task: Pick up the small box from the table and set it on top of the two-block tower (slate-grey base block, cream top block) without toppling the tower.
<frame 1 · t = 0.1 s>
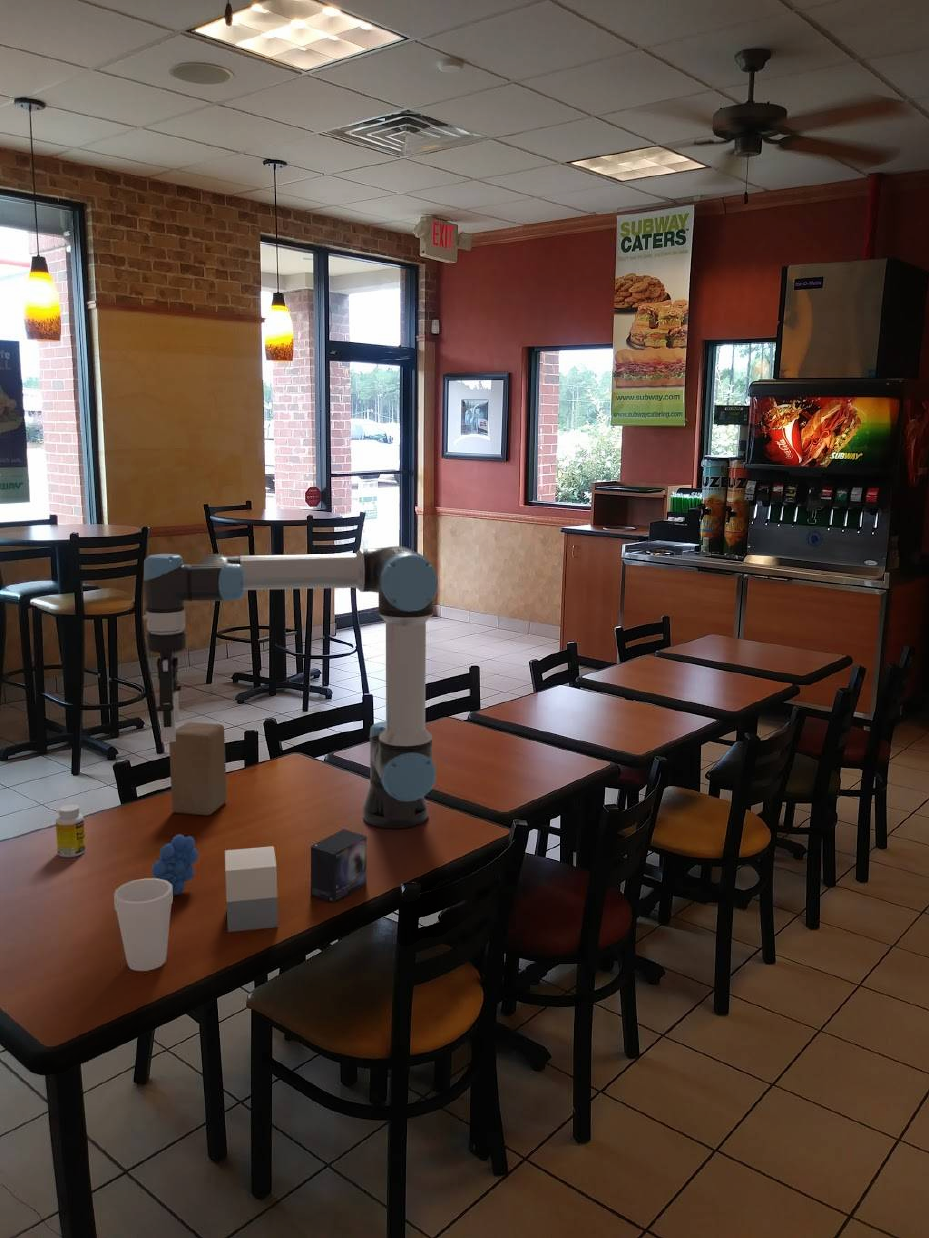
hand: (170, 731, 204), 28 cm above the table, tool pointing down, fingers open, 13 cm apart
foam cup: (147, 962, 169), on the table
supplement bottle: (71, 853, 212), on the table
small box: (339, 890, 196), on the table
grapes: (173, 894, 194), on the table
tower base: (252, 918, 185), on the table
block: (200, 808, 238), on the table
tower top: (251, 888, 184), point 6 cm above the table
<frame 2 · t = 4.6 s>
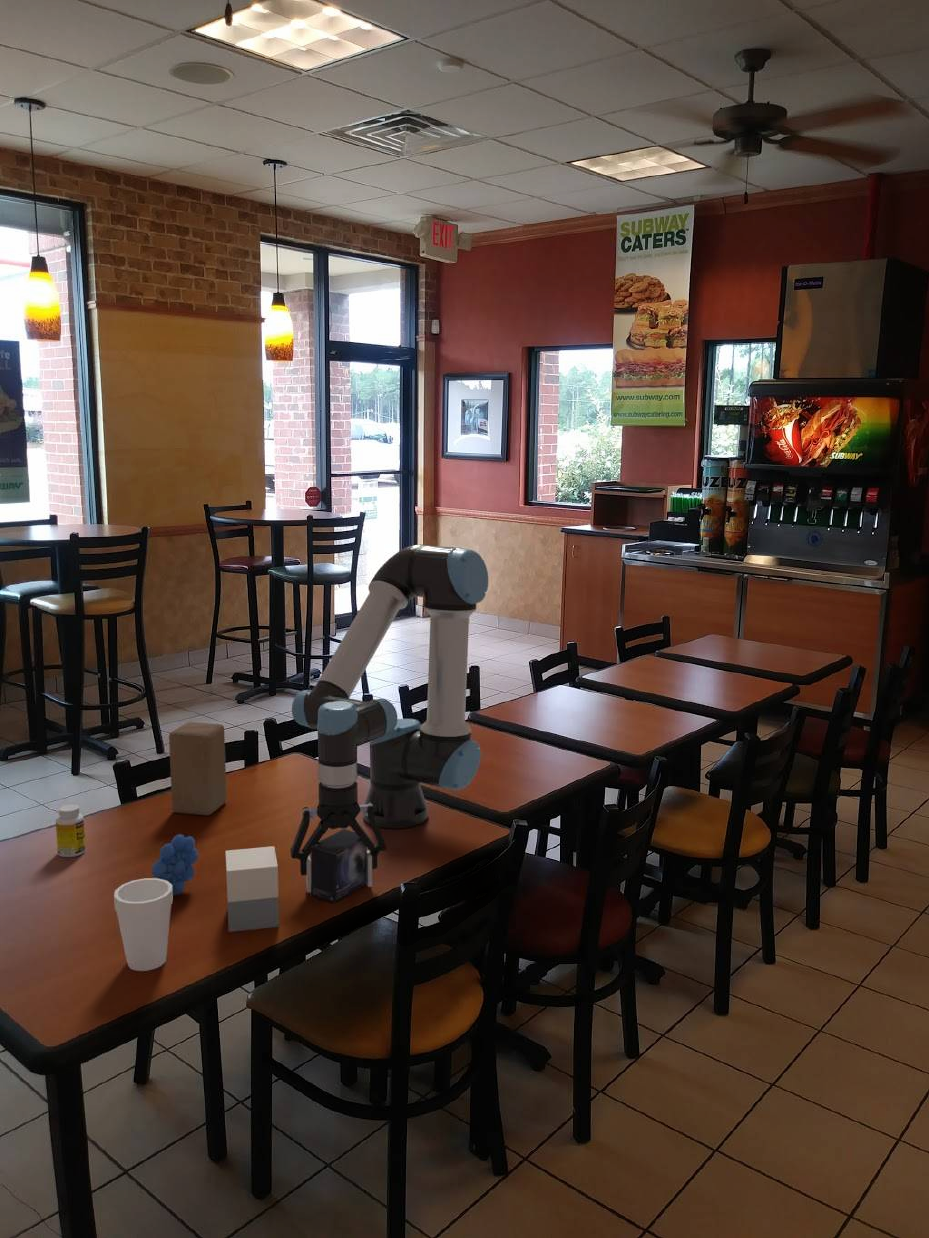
hand: (339, 886, 196), 1 cm above the table, tool pointing down, fingers closed on small box, 11 cm apart
small box: (339, 890, 196), on the table, touching gripper
tower base: (253, 918, 185), on the table, touching tower top
tower top: (252, 888, 184), point 6 cm above the table, touching tower base
everything else where it was.
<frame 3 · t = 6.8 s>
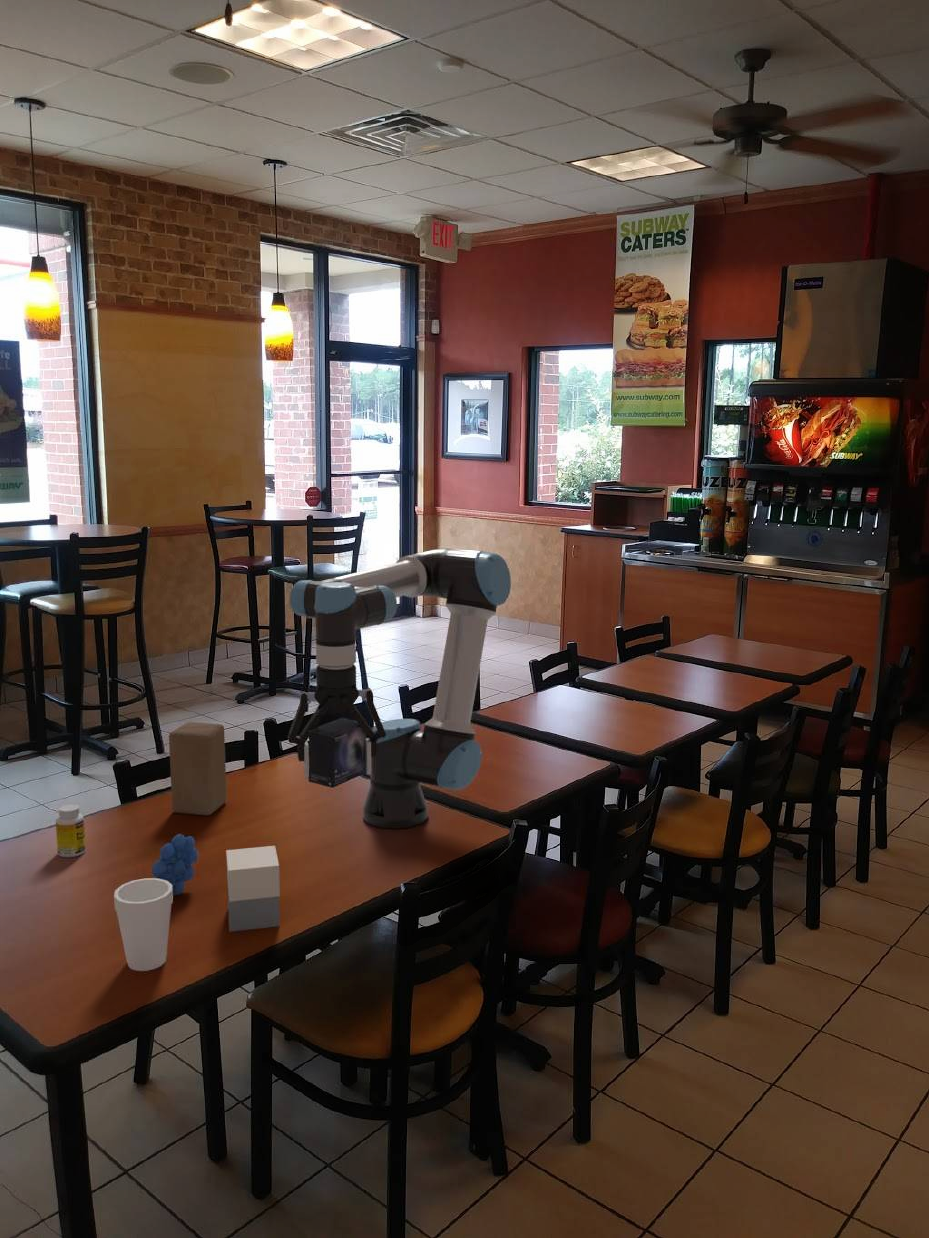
hand: (337, 774, 192), 24 cm above the table, tool pointing down, fingers closed on small box, 11 cm apart
small box: (338, 778, 192), point 23 cm above the table, touching gripper
everything else where it was.
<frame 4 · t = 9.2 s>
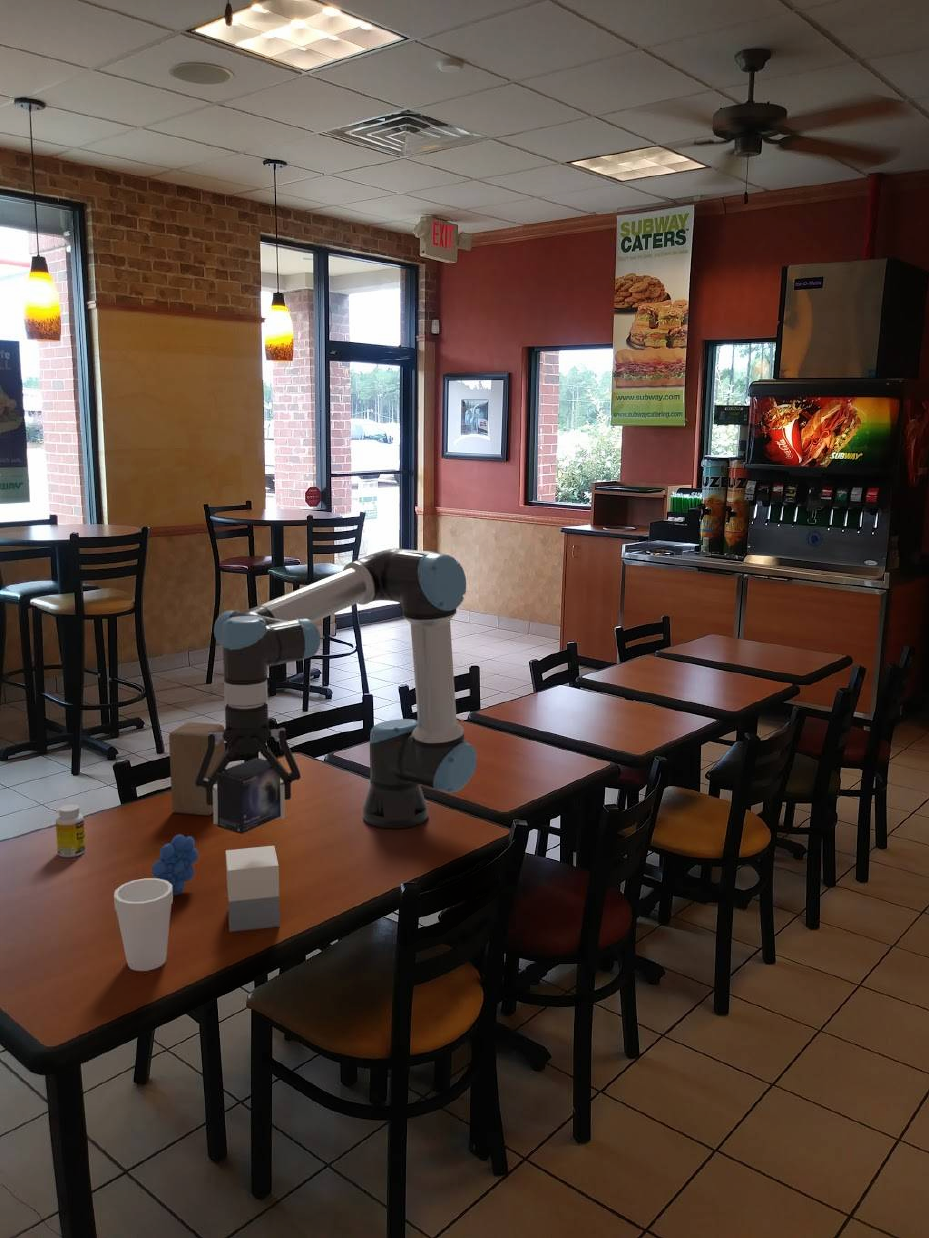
hand: (249, 818, 181), 20 cm above the table, tool pointing down, fingers closed on small box, 11 cm apart
small box: (250, 823, 181), point 19 cm above the table, touching gripper
everything else where it was.
when the fingers open (14 cm above the table, at t = 11.4 s): small box drops 2 cm, resting on tower top.
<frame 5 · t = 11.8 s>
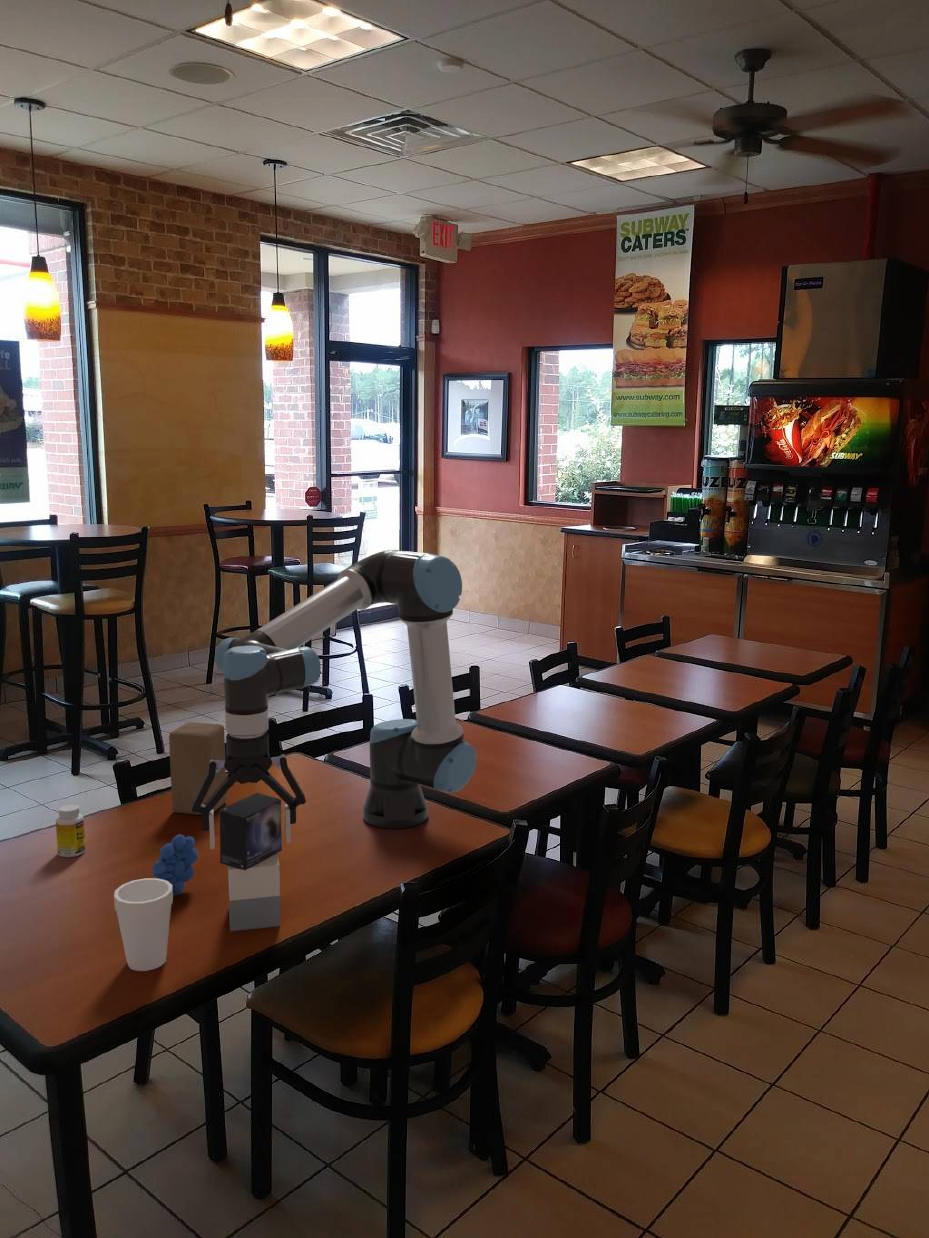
hand: (250, 843, 182), 15 cm above the table, tool pointing down, fingers open, 13 cm apart
small box: (252, 858, 183), point 12 cm above the table, touching tower top
tower top: (253, 887, 184), point 6 cm above the table, touching small box, tower base
everything else where it was.
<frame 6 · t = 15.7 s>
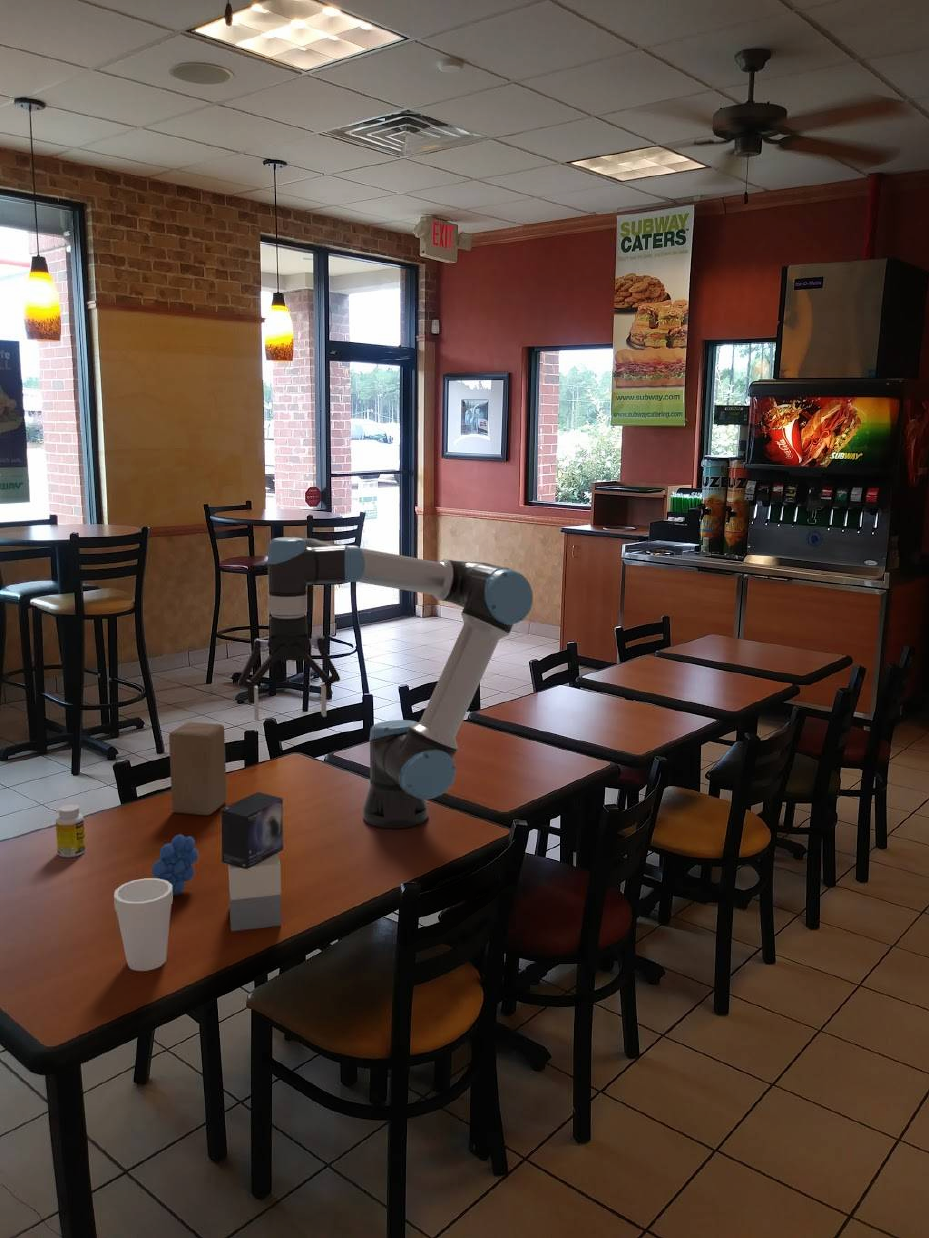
hand: (290, 716, 203), 32 cm above the table, tool pointing down, fingers open, 13 cm apart
nothing on the table moved.
at the end: small box 0.1 cm from the tower top (horizontally); small box point 11.7 cm above the table; tower top 0.3 cm off-centre on the tower base, point 6.0 cm above the tower base's base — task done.
